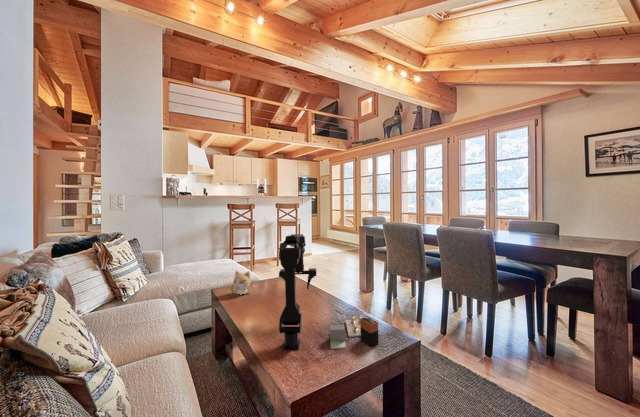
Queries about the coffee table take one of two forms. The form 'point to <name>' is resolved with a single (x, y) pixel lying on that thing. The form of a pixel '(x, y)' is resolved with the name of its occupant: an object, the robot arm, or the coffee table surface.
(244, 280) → the kitten
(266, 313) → the coffee table surface
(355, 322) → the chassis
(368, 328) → the battery
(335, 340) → the grey block
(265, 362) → the coffee table surface
